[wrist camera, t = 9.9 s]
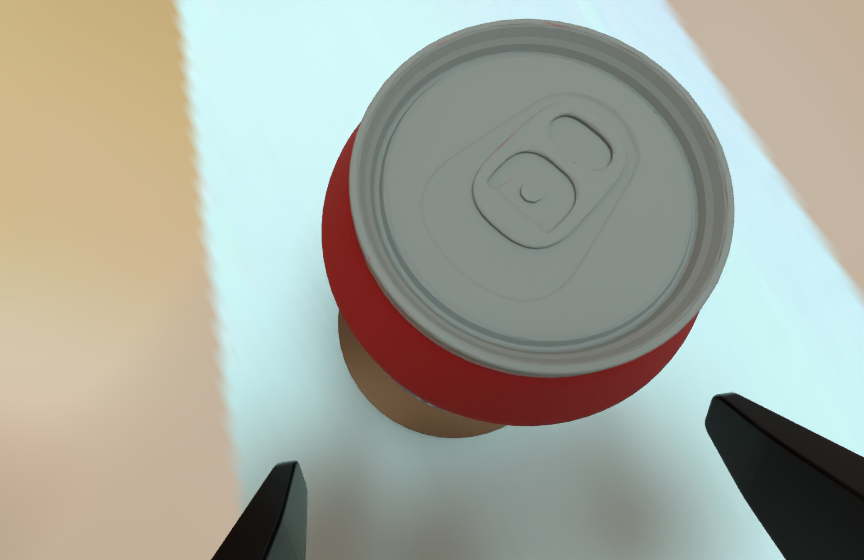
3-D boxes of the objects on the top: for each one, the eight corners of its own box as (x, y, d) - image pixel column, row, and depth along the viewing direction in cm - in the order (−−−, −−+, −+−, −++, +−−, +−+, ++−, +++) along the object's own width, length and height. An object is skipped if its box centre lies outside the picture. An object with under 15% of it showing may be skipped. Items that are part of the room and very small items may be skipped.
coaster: (584, 400, 19) (599, 400, 17) (371, 462, 18) (367, 468, 16) (517, 205, 21) (525, 190, 19) (324, 251, 20) (316, 240, 18)
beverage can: (337, 323, 18) (186, 178, 6) (454, 208, 19) (518, -89, 7) (464, 450, 17) (581, 571, 5) (579, 319, 18) (877, 175, 6)
